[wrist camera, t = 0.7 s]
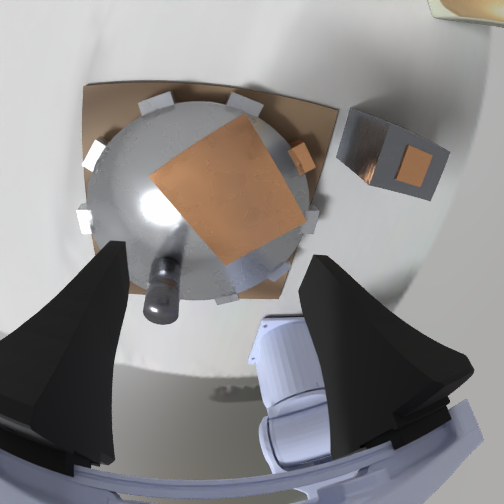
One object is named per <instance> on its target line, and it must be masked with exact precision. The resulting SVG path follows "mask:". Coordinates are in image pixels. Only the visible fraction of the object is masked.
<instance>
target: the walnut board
mask: <svg viewBox="0 0 504 504" xmlns="http://www.w3.org/2000/svg"><path fill="white" fill-rule="evenodd" d="M169 91H173V94H174V98H175V101H176V103H178V102H185V101H213V102H219V103H226V101H227V99H228V96H229V94H230V92H231V91H232V92H234V93H237V94H239V95H242V96H245V97H247V98H250V99H252V100H254V101H257V102H259V103H261V104H263V105H264V106H263V108H262V110H261V112H260V114H259V116H258V117H259V118H260V119H262V120H263V121H265V122H266V123H268V124H269V125H270V126H271V127H273V128H274V129H275V130H276V131H277V132H278V133H279V134H280V135H281V136H282V137H283V138H284V139H285V140H286V141H287V143H288V144H289V143H291V142H293V141H295V140H297V139H301V140H302V141H303V142H304V143H305V145H306V147H307V149H308V151H309V154H310V156H311V158H312V160H313V162H314V164H315V166H316V168H314V169H312V170H310V171H308V172H306V173H305V176H306V179H307V184H308V189H309V205H311V202H312V199H313V196H314V193H315V190H316V186H317V183H318V180H319V177H320V173H321V170H322V167H323V163H324V160H325V157H326V153H327V150H328V146H329V143H330V139H331V136H332V132H333V129H334V125H335V122H336V118H337V114H338V110H335V109H331V108H328V107H324V106H321V105H317V104H313V103H309V102H305V101H301V100H297V99H293V98H288V97H283V96H279V95H274V94H268V93H263V92H257V91H251V90H245V89H238V88H231V87H222V86H213V85H202V84H189V83H167V82H133V83H111V84H98V85H88V86H84V88H83V107H82V145H83V162H84V160H85V158H86V156H87V155H88V153H89V151H90V149H91V147H92V145H93V143H94V141H95V140H96V139H97V138H98V137H100V136H102V137H104V138H105V139H107V140H108V141H111V140H112V139H113V137H114V136H115V135H117V134H118V133H119V132H120V131H121V130H122V129H123V128H124V127H126V126H127V125H128V124H129V123H131V122H132V121H134V120H136V119H137V118H139V117H140V116H142V114H141V111H140V108H139V105H138V103H139V102H141V101H143V100H146V99H149V98H151V97H154V96H157V95H160V94H163V93H166V92H169ZM91 173H92V171H91V170H89V169H88V168H86V167H84V179H85V190H86V199H87V189H88V185H89V180H90V176H91ZM92 239H93V245H94V250H95V255H96V254H97V253H98V252H99V251H100V249H99V247H98V245H97V244H96V242H95V240H94V237H93V235H92ZM296 248H297V247H296ZM295 251H296V249H295V250H294V252H293V253H292V254H291V256H290V257H289V258H288V260H289V263H290V265H291V263H292V260H293V257H294V254H295ZM288 271H289V270H288ZM288 271H287V272H286V273H285V274H284V275H282V276H281V277H280V278H279V279H278V280H277V281H275V282H273V281H271V280H270V279H268V278H267V279H265V280H264V281H262V282H261V283H259V284H257V285H255V286H253V287H252V288H250V289H247V290H245V291H242V292H240V293H238V296H239V299H279V296H280V294H281V291H282V288H283V285H284V282H285V280H286V277H287V274H288ZM146 291H147V290H146V289H144V288H142V287H140V286H138V285H136V284H134V283H133V282H131V281H130V287H129V294H143V295H146Z"/></svg>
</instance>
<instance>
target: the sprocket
mask: <svg viewBox="0 0 504 504" xmlns="http://www.w3.org/2000/svg"><path fill="white" fill-rule="evenodd" d="M138 105H139V108H140V111H141V114H142V116H140V117H139V118H137V119H136V120H134V121H132V122H131V123H129V124H128V125H127V126H126V127H124V128H123V129H122V130H121V131H120V132H119V133H118V134H117V135H115V136H114V137H113V139H112V140H111V141H108V140H107V139H105V138H104V137H102V136H100V137H98V138H97V139H96V140H95V141H94V143H93V145H92V147H91V149H90V151H89V153H88V155H87V156H86V158H85V160H84V162H83V164H82V165H83V166H84V167H86V168H88V169H89V170H91V171H92V173H91V176H90V180H89V185H88V189H87V202H86V204H81V205H80V207H79V208H78V210H77V214H78V219H79V223H80V227H81V231H82V234H92V235H93V237H94V240H95V242H96V244H97V245H98V247H99V249H100V250H101V249H102V248H103V247H104V246H105V245H106V244H107V243H108V242H109V241H110V240H113V241H126V252H127V261H128V270H129V278H130V281H131V282H133V283H134V284H136V285H138V286H140V287H142V288H144V289H146V290H147V291H146V296H145V303H144V309H143V313H144V316H145V317H146V318H147V319H148V320H149V321H151V322H153V323H156V324H161V325H165V324H171V323H173V322H175V321H176V320H177V318H178V313H179V301H180V299H183V300H209V299H215V301H216V303H217V305H220V304H224V303H228V302H233V301H237V300H239V296H238V293H240V292H242V291H245V290H247V289H250V288H252V287H253V286H255V285H257V284H259V283H261V282H262V281H264V280H265V279H267V278H268V279H270V280H271V281H273V282H275V281H277V280H278V279H279V278H280V277H281V276H282V275H284V274H285V273H286V272H287V271H288V270H289V269H291V265H290V263H289V260H288V258H289V257H290V256H291V254H292V253H293V252H294V250H295V249H296V247H297V245H298V243H299V242H300V240H301V237H302V235H303V234H314V230H315V227H316V223H317V220H318V216H319V212H320V211H319V210H318V208H317V207H316V205H309V189H308V184H307V179H306V176H305V173H306V172H308V171H310V170H312V169H314V168H316V166H315V164H314V162H313V160H312V158H311V156H310V154H309V151H308V149H307V147H306V145H305V143H304V142H303V141H302V140H301V139H297V140H295V141H293V142H291V143H289V144H288V143H287V141H286V140H285V139H284V138H283V137H282V136H281V135H280V134H279V133H278V132H277V131H276V130H275V129H274V128H273V127H271V126H270V125H269V124H268V123H266V122H265V121H263V120H262V119H260V118H259V117H258V116H259V114H260V112H261V110H262V108H263V106H264V105H263V104H261V103H259V102H257V101H254V100H252V99H250V98H247V97H245V96H242V95H239V94H237V93H234V92H232V91H231V92H230V94H229V96H228V99H227V101H226V103H219V102H213V101H185V102H178V103H176V101H175V98H174V94H173V91H169V92H166V93H163V94H160V95H157V96H154V97H151V98H149V99H146V100H143V101H141V102H139V103H138Z"/></svg>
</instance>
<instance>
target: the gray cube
mask: <svg viewBox="0 0 504 504" xmlns="http://www.w3.org/2000/svg"><path fill="white" fill-rule="evenodd" d="M449 154H450V152H449V151H447V150H446V149H444V148H442V147H440V146H438V145H437V144H435V143H433V142H431V141H429V140H427V139H425V138H423V137H421V136H419V135H417V134H415V133H413V132H411V131H409V130H407V129H405V128H402V127H400V126H398V125H395V124H393V123H391V122H388V121H386V120H383V119H381V118H378V117H375V116H373V115H370V114H367V113H365V112H362V111H359V110H356V109H353V108H350V111H349V114H348V118H347V122H346V125H345V128H344V132H343V135H342V139H341V142H340V146H339V149H338V152H337V155H336V158H338V159H339V160H340V161H341V162H343V163H344V164H345V165H346V166H347V167H349V168H350V169H351V170H352V171H353V172H355V173H356V174H357V175H358V176H359V177H360V178H362V179H363V180H364V181H365V182H366V183H367V184H368V185H371V186H375V187H379V188H383V189H388V190H391V191H395V192H399V193H403V194H407V195H411V196H414V197H418V198H421V199H425V200H428V201H431V199H432V196H433V194H434V192H435V189H436V187H437V185H438V182H439V180H440V177H441V175H442V172H443V170H444V167H445V165H446V162H447V159H448V157H449Z"/></svg>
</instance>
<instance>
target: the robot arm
mask: <svg viewBox="0 0 504 504" xmlns="http://www.w3.org/2000/svg"><path fill="white" fill-rule="evenodd" d="M129 287H130V278H129V270H128V261H127V252H126V241H113V240H110V241H109V242H108V243H107V244H106V245H105V246H104V247H103V248H102V249H101V250H100V251H99V252H98V253H97V254H96V255H95V256H94V258H93V259H92V260H91V261H90V262H89V263H88V264H87V265H86V266H85V267H84V268H83V269H82V270H81V271H80V272H79V273H78V275H77V276H76V277H75V278H74V279H73V280H72V281H71V282H70V283H69V284H68V285H67V286H66V287H65V288H64V289H63V290H62V291H61V292H60V293H59V294H58V295H57V296H56V297H55V298H53V299H52V300H51V301H50V302H49V303H48V304H47V305H46V306H44V307H43V308H42V309H41V310H40V311H39V312H38V313H36V314H35V315H34V316H33V317H31V318H30V319H29V320H27V321H26V322H25V323H24V324H22V325H21V326H20V327H19V328H17V329H16V330H15V331H13V332H12V333H11V334H9V335H8V336H6V337H5V338H3V339H2V340H0V504H160V503H151V502H142V501H133V500H123V499H122V498H121V497H120V496H119V495H118V494H117V493H116V492H118V493H124V494H130V495H138V496H146V497H157V498H173V499H217V498H232V497H243V496H252V495H260V494H266V493H273V492H278V491H283V490H289V489H296V490H299V491H302V492H304V493H306V494H307V496H308V500H305V501H300V502H296V503H291V504H423V503H424V502H425V501H426V500H427V499H428V498H429V497H430V496H431V495H432V494H433V493H434V492H436V491H437V489H439V487H440V486H441V485H442V484H443V483H444V482H445V481H446V480H447V479H448V478H449V477H450V476H451V475H452V474H453V473H454V471H455V470H456V469H457V468H458V467H459V466H460V465H461V463H462V462H463V461H464V460H465V459H466V458H467V457H468V456H469V455H470V454H471V453H472V452H473V451H474V450H475V449H476V448H477V447H478V446H479V445H480V444H481V443H482V442H483V441H484V439H483V436H482V433H481V431H480V428H479V426H478V423H477V421H476V418H475V416H474V414H473V411H472V409H471V407H470V405H469V402H468V400H467V399H465V400H463V401H462V402H460V403H458V404H457V405H455V406H453V407H452V408H450V409H449V410H448V409H447V407H446V405H447V404H449V403H450V400H449V398H448V395H449V394H450V393H452V392H453V391H455V390H456V389H457V388H458V387H460V386H461V385H462V384H463V383H464V382H465V381H467V380H468V379H469V378H470V377H471V376H472V375H473V373H474V368H473V367H472V365H471V363H470V361H469V359H468V358H467V357H466V355H464V354H462V353H459V352H457V351H455V350H453V349H450V348H448V347H446V346H444V345H442V344H440V343H438V342H436V341H434V340H433V339H431V338H429V337H427V336H426V335H424V334H422V333H421V332H419V331H418V330H416V329H414V328H413V327H411V326H410V325H408V324H407V323H405V322H404V321H403V320H401V319H400V318H399V317H397V316H396V315H395V314H393V313H392V312H391V311H389V310H388V309H387V308H386V307H385V306H383V305H382V304H381V303H380V302H379V301H378V300H376V299H375V298H374V297H373V296H372V295H371V294H369V293H368V292H367V291H366V290H365V289H364V288H363V287H362V286H361V285H360V284H358V283H357V282H356V281H355V280H354V279H353V278H352V277H351V276H350V275H349V274H348V273H347V272H346V271H344V270H343V269H342V268H341V267H340V266H339V265H338V264H337V263H335V262H334V261H333V260H332V259H331V258H329V257H328V256H326V255H313V257H312V260H311V262H310V265H309V267H308V269H307V272H306V274H305V276H304V279H303V281H302V284H301V286H300V288H299V290H298V292H299V298H300V303H301V308H302V312H303V316H304V317H290V318H264V319H263V320H262V321H261V324H260V327H259V330H258V333H257V336H256V339H255V341H254V344H253V347H252V350H251V353H250V356H249V359H248V363H249V364H256V368H257V374H258V379H259V384H260V389H261V394H262V399H263V403H264V404H265V406H266V408H267V411H268V416H265V417H264V418H263V419H262V422H261V423H260V426H259V438H260V444H261V448H262V451H263V454H264V456H265V459H266V460H267V462H268V464H269V465H270V468H271V470H272V473H273V474H270V475H263V476H257V477H247V478H236V479H222V480H168V479H154V478H143V477H136V476H128V475H122V474H115V473H110V472H104V471H99V470H95V469H91V465H94V466H99V467H100V464H104V465H109V464H111V463H112V462H113V461H114V460H115V455H114V446H113V434H112V411H111V410H112V407H111V406H112V380H113V379H112V378H113V366H114V360H115V354H116V349H117V345H118V340H119V336H120V331H121V327H122V323H123V319H124V315H125V311H126V307H127V301H128V294H129ZM330 455H331V456H330ZM326 456H329V457H326ZM323 457H326V458H323ZM320 458H323V459H320ZM316 459H319V460H316ZM312 460H316V461H312ZM309 461H312V462H309ZM305 462H309V463H305ZM300 463H304V464H300ZM359 469H360V470H359ZM357 472H358V474H357V476H355V477H354V475H355V474H356V473H357Z"/></svg>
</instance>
